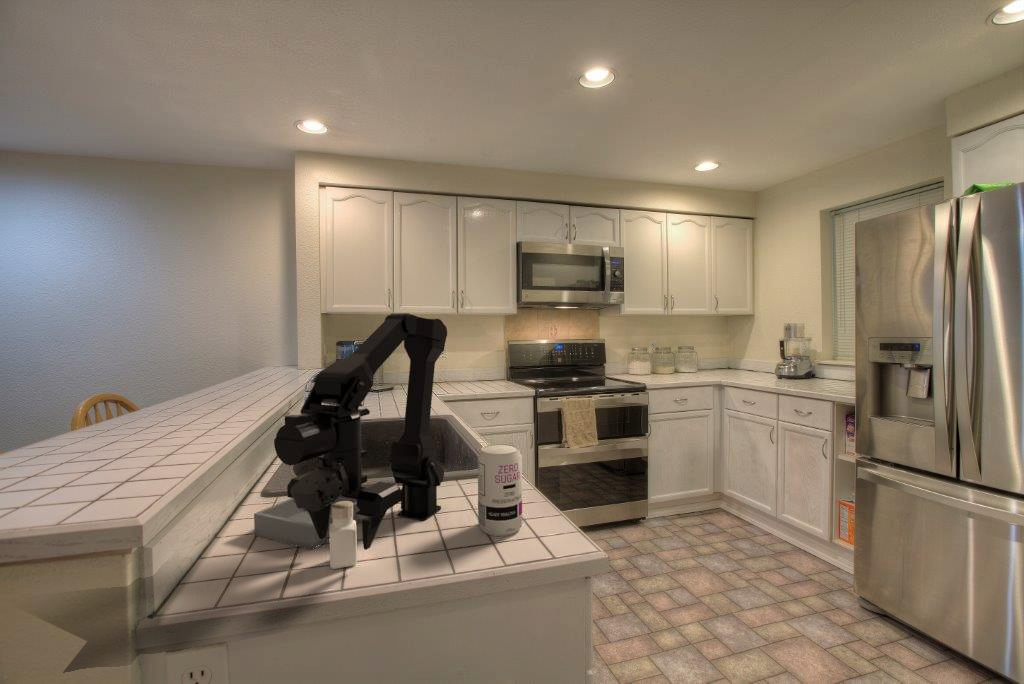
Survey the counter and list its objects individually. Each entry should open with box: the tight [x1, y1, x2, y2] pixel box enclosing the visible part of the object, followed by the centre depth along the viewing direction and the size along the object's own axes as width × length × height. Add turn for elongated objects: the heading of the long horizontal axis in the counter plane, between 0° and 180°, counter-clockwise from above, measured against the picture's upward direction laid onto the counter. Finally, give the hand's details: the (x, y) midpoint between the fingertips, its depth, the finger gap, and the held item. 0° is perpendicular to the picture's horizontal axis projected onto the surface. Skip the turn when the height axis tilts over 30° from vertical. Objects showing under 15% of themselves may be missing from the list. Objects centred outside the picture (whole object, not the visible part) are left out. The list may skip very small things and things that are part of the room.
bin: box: [253, 496, 362, 550], centre depth 88 cm, size 14×14×4 cm
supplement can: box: [477, 443, 523, 537], centre depth 86 cm, size 8×8×15 cm
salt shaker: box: [329, 501, 358, 570], centre depth 74 cm, size 4×4×10 cm
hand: (344, 543), depth 74 cm, fingers open, 9 cm apart
